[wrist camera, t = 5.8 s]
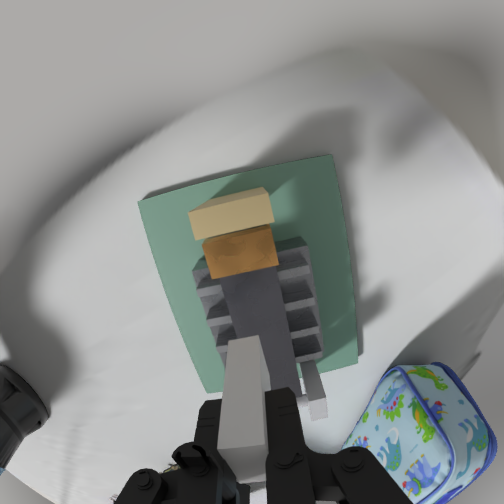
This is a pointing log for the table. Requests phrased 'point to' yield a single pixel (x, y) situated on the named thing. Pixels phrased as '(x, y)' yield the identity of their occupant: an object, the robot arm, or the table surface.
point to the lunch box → (426, 432)
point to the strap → (255, 296)
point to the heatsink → (294, 297)
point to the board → (283, 227)
